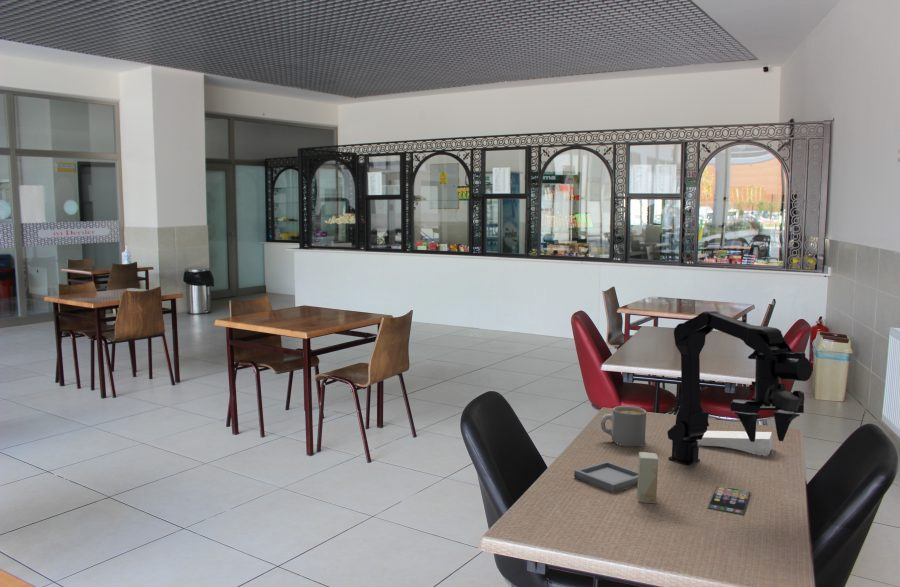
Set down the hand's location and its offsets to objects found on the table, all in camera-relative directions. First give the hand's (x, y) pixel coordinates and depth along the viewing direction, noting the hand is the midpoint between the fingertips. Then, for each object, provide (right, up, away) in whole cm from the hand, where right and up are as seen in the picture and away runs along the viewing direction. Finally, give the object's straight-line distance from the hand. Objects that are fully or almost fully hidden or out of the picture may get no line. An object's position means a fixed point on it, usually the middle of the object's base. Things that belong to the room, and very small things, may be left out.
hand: (766, 441), depth 179 cm
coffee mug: (-25, -9, +44) cm, 52 cm away
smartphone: (-10, -15, -3) cm, 18 cm away
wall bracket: (+4, -10, +42) cm, 43 cm away
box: (-31, -14, -3) cm, 34 cm away
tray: (-37, -12, +10) cm, 40 cm away
